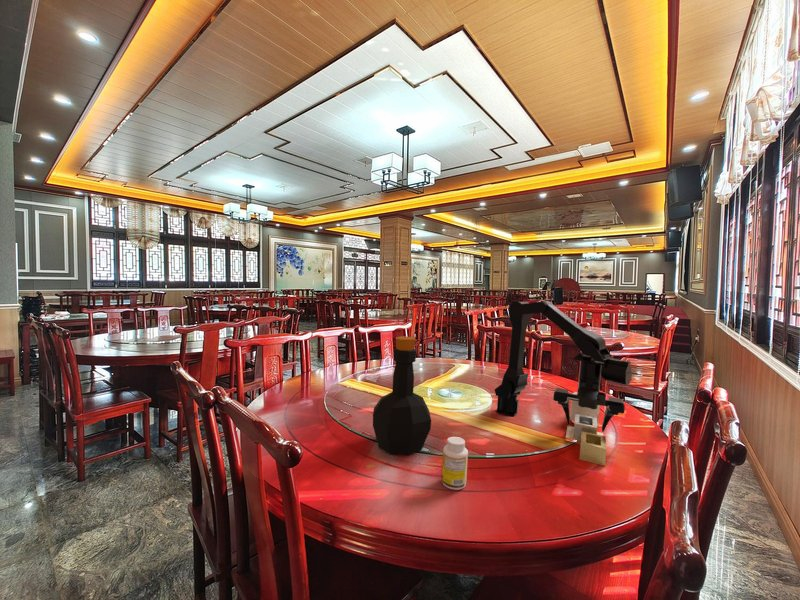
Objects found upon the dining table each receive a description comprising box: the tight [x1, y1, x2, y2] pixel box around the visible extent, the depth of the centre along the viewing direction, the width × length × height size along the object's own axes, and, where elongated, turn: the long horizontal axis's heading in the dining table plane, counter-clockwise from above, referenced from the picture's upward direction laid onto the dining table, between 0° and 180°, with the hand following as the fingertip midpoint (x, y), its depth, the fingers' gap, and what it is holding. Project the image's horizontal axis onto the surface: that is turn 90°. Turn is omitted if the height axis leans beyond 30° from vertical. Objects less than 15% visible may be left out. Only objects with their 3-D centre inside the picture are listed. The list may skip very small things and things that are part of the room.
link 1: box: [573, 414, 598, 440], centre depth 110 cm, size 9×6×4 cm, turn 153°
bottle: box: [372, 335, 432, 456], centre depth 99 cm, size 16×16×30 cm
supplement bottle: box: [441, 436, 469, 491], centre depth 82 cm, size 6×6×10 cm
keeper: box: [565, 421, 604, 445], centre depth 110 cm, size 10×10×5 cm
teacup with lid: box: [570, 391, 601, 427], centre depth 125 cm, size 12×9×12 cm
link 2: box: [579, 431, 608, 466], centre depth 100 cm, size 9×6×4 cm, turn 152°
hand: (585, 427), depth 110 cm, fingers open, 9 cm apart
